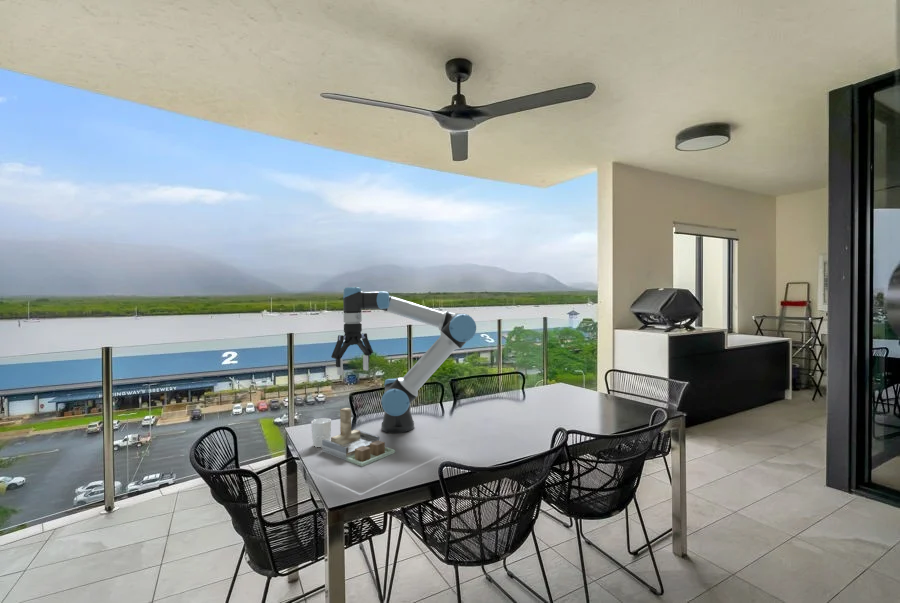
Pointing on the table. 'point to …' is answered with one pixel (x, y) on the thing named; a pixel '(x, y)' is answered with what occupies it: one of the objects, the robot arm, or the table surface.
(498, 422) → the table surface
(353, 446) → the bed
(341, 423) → the light wood block tower
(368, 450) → the walnut cube
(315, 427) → the white cup
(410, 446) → the table surface
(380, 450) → the walnut cube
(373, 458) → the tray
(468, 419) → the table surface
